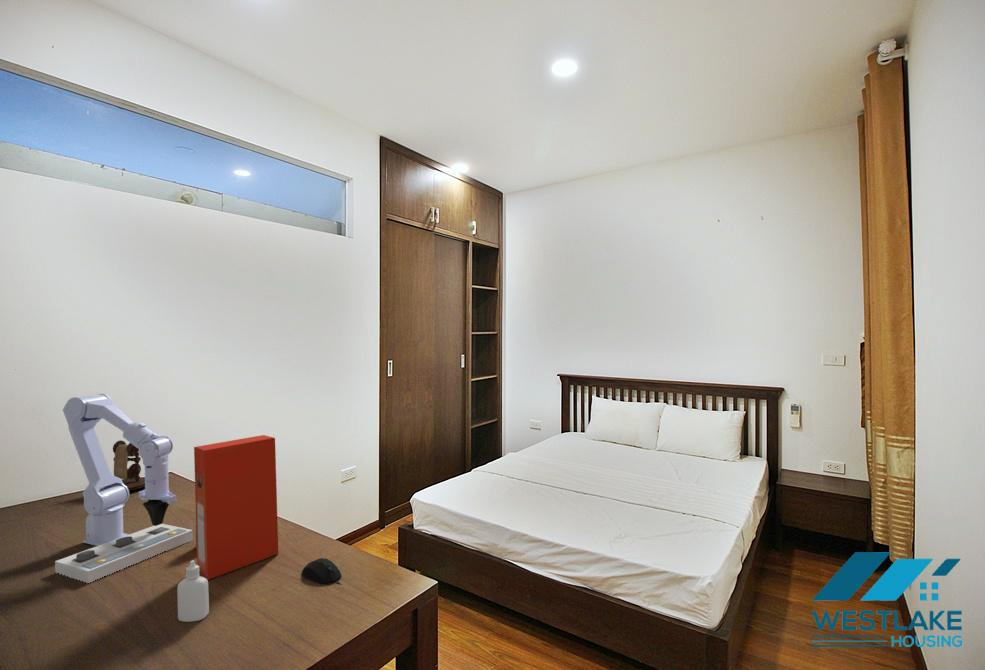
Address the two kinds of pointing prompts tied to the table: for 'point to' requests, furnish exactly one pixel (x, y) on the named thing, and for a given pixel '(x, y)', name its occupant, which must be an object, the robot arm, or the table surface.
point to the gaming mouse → (322, 572)
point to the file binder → (235, 504)
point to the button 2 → (157, 531)
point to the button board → (123, 553)
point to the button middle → (123, 542)
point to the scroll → (120, 465)
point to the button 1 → (85, 556)
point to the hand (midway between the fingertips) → (157, 524)
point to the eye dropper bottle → (193, 595)
